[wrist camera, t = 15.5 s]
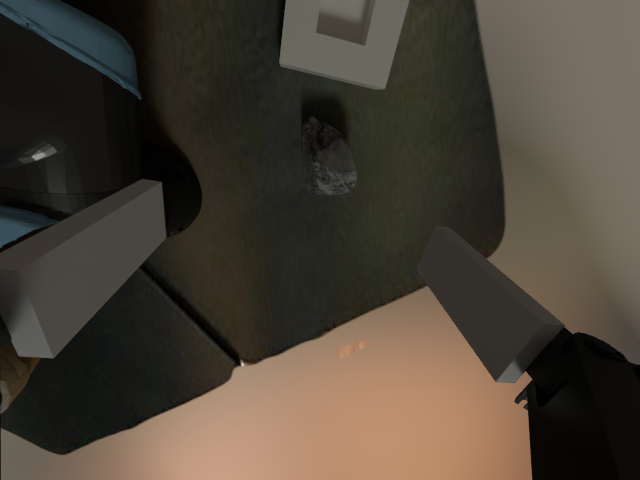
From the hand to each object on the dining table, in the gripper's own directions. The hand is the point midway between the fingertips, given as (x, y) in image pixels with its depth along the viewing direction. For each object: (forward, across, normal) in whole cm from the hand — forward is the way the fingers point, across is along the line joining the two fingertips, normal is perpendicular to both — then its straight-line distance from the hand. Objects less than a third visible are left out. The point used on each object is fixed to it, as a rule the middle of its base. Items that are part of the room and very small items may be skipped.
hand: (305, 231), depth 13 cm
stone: (+32, +4, -2) cm, 32 cm away
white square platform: (+32, +3, +16) cm, 36 cm away
